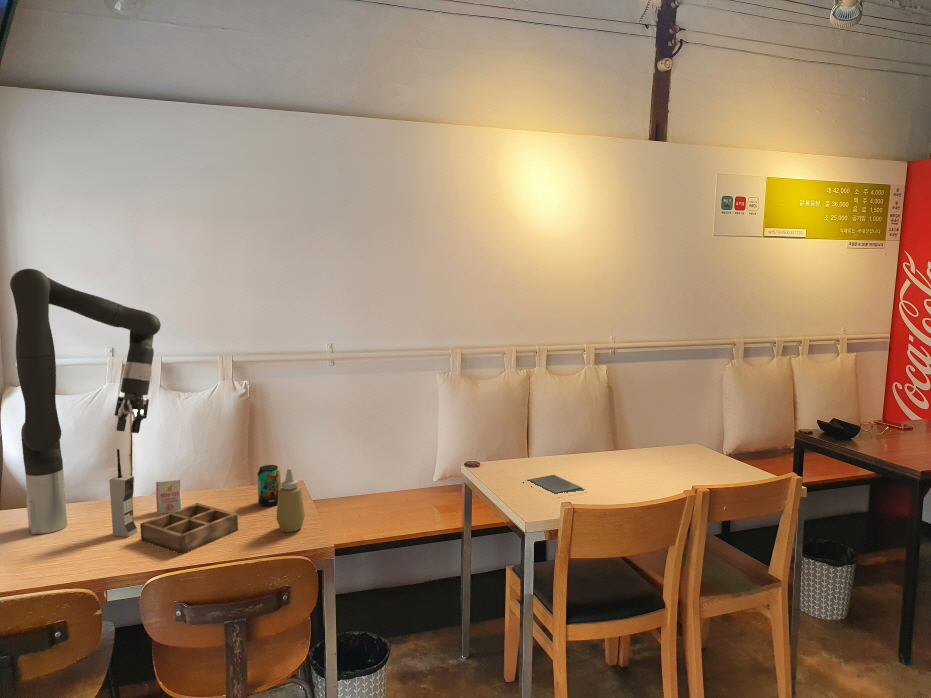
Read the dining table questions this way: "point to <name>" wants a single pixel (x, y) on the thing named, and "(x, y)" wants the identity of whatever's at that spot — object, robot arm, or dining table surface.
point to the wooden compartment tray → (189, 527)
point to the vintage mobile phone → (122, 503)
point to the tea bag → (168, 496)
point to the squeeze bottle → (290, 504)
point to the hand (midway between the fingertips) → (127, 432)
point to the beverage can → (268, 485)
